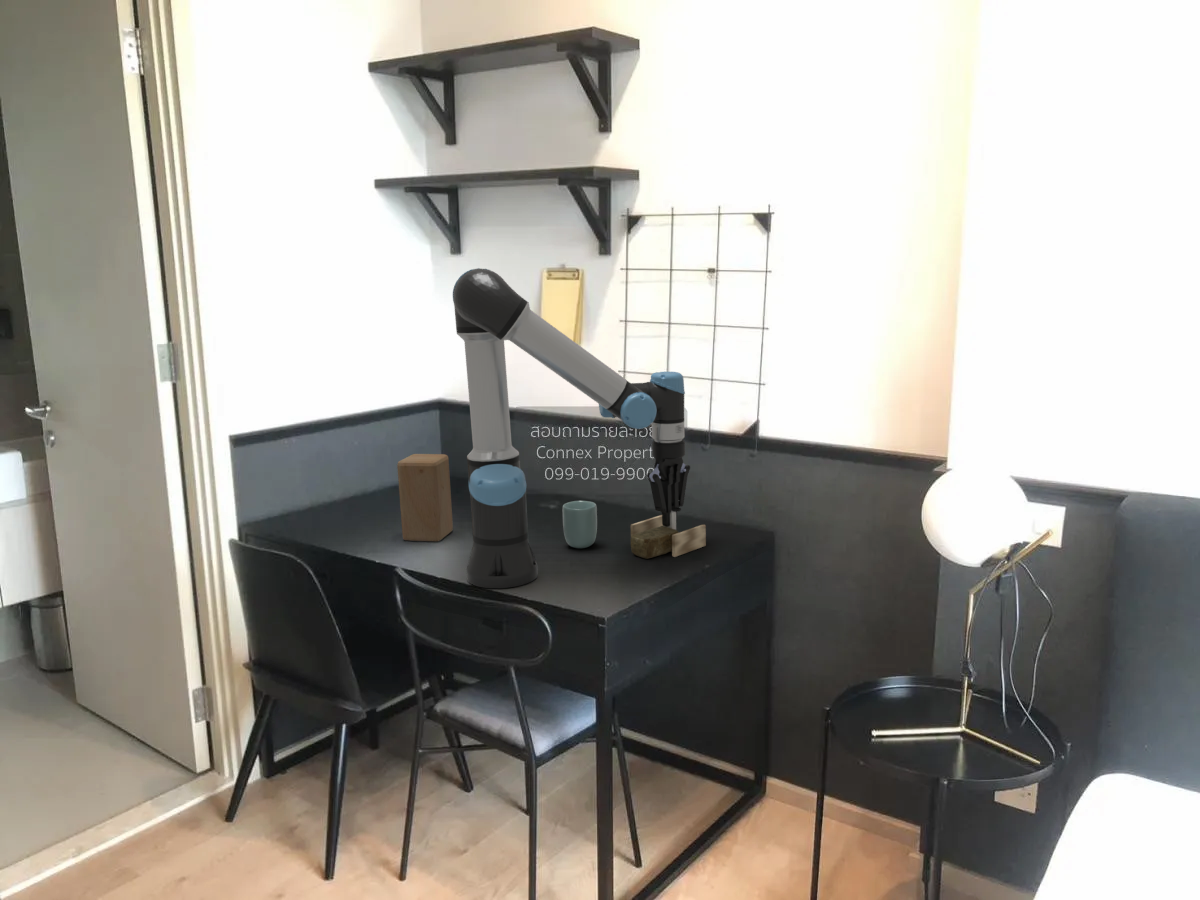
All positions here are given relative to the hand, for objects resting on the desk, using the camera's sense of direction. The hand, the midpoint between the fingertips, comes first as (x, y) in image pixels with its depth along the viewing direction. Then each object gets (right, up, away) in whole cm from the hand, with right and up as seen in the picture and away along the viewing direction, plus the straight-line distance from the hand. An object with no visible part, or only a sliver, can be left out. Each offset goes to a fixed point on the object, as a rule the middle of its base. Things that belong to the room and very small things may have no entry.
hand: (669, 538), depth 215 cm
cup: (-21, -2, +1) cm, 21 cm away
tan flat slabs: (0, -2, 0) cm, 2 cm away
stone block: (-4, -3, -5) cm, 7 cm away
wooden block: (-59, -1, +13) cm, 60 cm away
